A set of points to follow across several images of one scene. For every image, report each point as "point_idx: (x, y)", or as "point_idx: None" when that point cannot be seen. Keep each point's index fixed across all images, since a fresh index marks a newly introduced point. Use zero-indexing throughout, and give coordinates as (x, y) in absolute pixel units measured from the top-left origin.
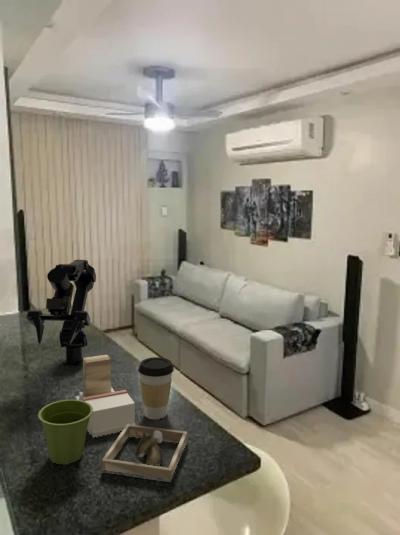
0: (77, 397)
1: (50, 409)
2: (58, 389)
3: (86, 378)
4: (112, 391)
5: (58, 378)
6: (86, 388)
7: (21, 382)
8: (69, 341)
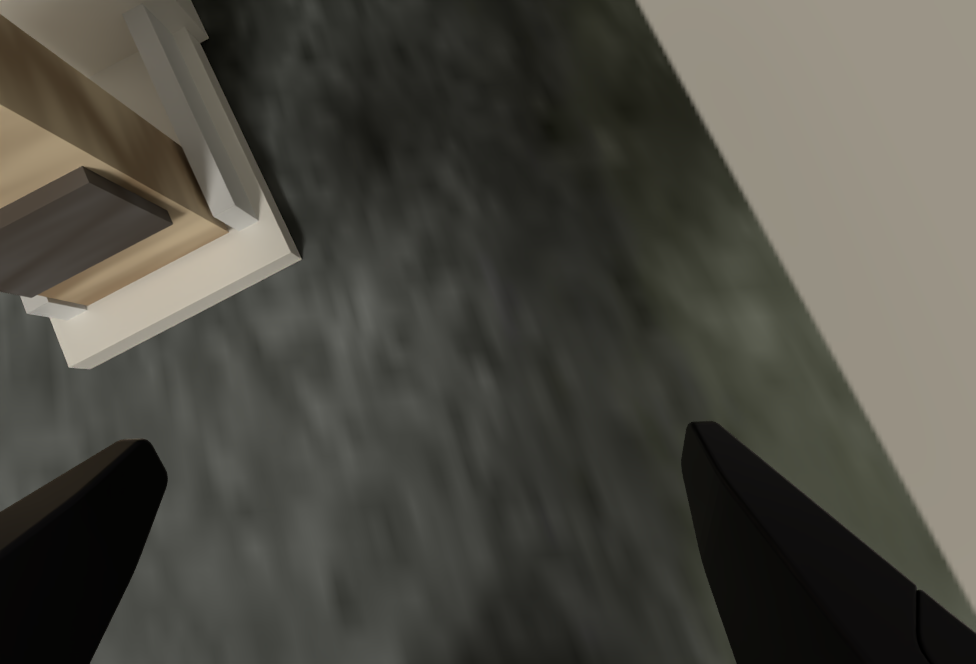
0: (274, 236)
1: None
2: (460, 411)
3: (55, 54)
4: None
5: (524, 611)
6: (127, 109)
7: None
8: (113, 449)
